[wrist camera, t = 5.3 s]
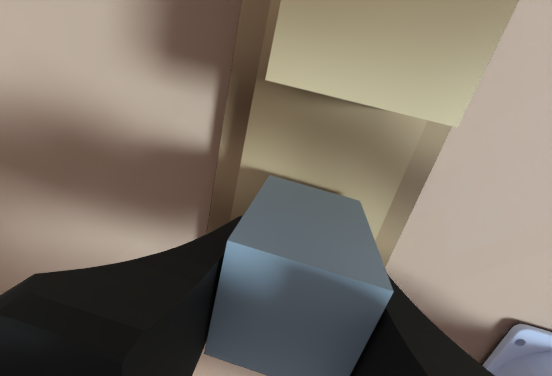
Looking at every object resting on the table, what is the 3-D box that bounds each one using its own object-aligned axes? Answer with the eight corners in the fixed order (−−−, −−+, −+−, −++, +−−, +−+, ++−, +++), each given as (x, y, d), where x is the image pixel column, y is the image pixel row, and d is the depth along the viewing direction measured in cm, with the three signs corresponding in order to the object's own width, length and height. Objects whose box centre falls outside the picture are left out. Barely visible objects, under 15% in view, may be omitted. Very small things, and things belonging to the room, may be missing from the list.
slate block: (330, 274, 12) (337, 399, 7) (251, 250, 13) (204, 353, 8) (360, 201, 11) (394, 291, 6) (269, 174, 11) (227, 240, 6)
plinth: (358, 308, 16) (363, 336, 14) (206, 262, 17) (191, 283, 15) (541, -87, 9) (596, -133, 7) (269, -139, 10) (257, -192, 8)
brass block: (389, 110, 10) (457, 127, 5) (292, 86, 11) (265, 79, 5) (435, -9, 9) (590, -149, 4) (320, -34, 9) (319, -194, 4)
